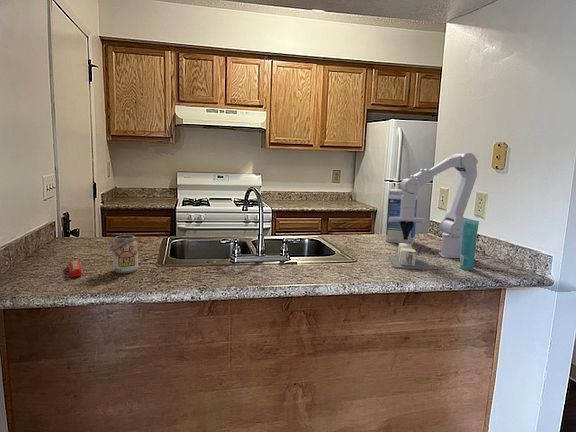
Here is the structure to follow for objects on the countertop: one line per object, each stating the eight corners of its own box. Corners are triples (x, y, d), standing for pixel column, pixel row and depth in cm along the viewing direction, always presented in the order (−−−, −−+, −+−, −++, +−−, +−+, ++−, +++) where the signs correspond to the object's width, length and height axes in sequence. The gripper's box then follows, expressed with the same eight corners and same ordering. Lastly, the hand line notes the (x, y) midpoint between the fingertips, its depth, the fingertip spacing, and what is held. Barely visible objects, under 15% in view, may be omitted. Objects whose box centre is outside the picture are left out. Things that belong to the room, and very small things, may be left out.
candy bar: (68, 267, 144) (68, 259, 144) (80, 266, 146) (79, 258, 146) (69, 280, 131) (69, 271, 130) (82, 278, 132) (82, 269, 132)
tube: (478, 270, 153) (483, 220, 150) (469, 271, 151) (474, 221, 148) (462, 265, 160) (467, 217, 157) (453, 266, 158) (458, 218, 155)
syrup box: (411, 256, 169) (415, 266, 155) (397, 255, 170) (399, 264, 156) (412, 243, 168) (416, 251, 154) (398, 242, 169) (401, 250, 155)
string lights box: (414, 242, 200) (418, 190, 196) (412, 245, 193) (416, 191, 189) (387, 239, 206) (391, 188, 202) (384, 241, 199) (388, 189, 195)
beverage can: (110, 275, 136) (109, 240, 134) (109, 268, 143) (107, 235, 141) (140, 272, 140) (138, 238, 138) (136, 266, 147) (135, 233, 145)
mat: (422, 259, 168) (422, 257, 168) (432, 270, 152) (432, 268, 152) (388, 257, 169) (388, 256, 169) (394, 268, 153) (394, 266, 153)
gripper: (423, 206, 171) (420, 238, 174) (388, 205, 173) (386, 236, 175) (427, 209, 164) (424, 241, 167) (391, 207, 166) (388, 239, 168)
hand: (405, 239), depth 170 cm, fingers closed
